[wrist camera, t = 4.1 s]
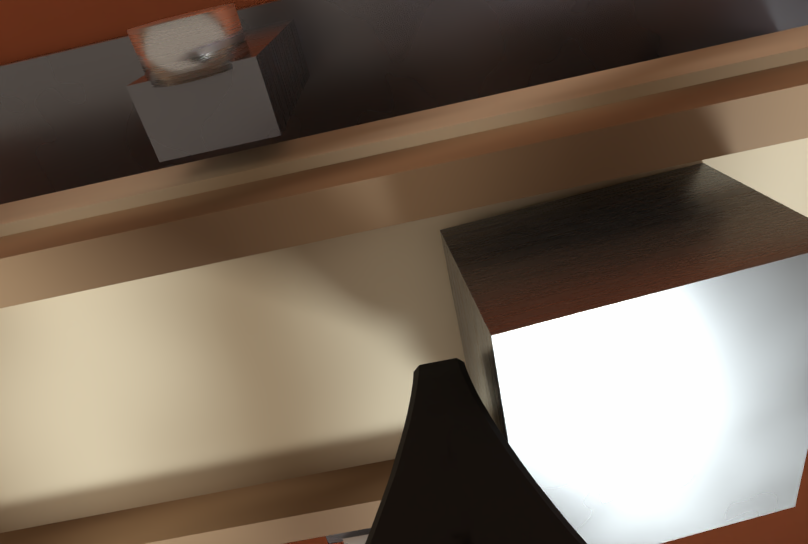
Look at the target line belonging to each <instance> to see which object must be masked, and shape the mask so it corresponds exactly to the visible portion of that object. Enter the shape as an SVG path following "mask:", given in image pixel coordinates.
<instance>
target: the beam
mask: <svg viewBox="0 0 808 544" xmlns="http://www.w3.org/2000/svg"><path fill="white" fill-rule="evenodd" d="M700 163H705V164H706V165H708V166H710V167H712V168H714V169H716V170H718V171H720V172H722V173H724V174H726V175H727V176H729V177H731V178H733V179H735V180H737V181H739V182H741V183H743V184H745V185H747V186H749V187H750V188H752V189H754V190H756V191H758V192H760V193H762V194H764V195H766V196H768V197H770V198H771V199H773V200H775V201H777V202H779V203H781V204H783V205H785V206H787V207H789V208H791V209H792V210H794V211H796V212H798V213H800V214H802V215H804V216H806V217H808V25H806V26H801V27H797V28H792V29H788V30H783V31H779V32H774V33H770V34H765V35H761V36H756V37H752V38H747V39H743V40H738V41H734V42H729V43H725V44H720V45H716V46H711V47H707V48H702V49H698V50H693V51H689V52H684V53H680V54H675V55H671V56H666V57H662V58H657V59H653V60H648V61H644V62H639V63H635V64H630V65H626V66H621V67H617V68H612V69H608V70H603V71H599V72H594V73H590V74H585V75H581V76H576V77H572V78H567V79H563V80H558V81H554V82H549V83H545V84H540V85H536V86H531V87H527V88H522V89H518V90H513V91H509V92H504V93H500V94H495V95H491V96H486V97H482V98H477V99H473V100H468V101H464V102H459V103H455V104H450V105H446V106H441V107H437V108H432V109H428V110H423V111H419V112H414V113H410V114H405V115H401V116H396V117H392V118H387V119H383V120H378V121H374V122H369V123H365V124H360V125H356V126H351V127H347V128H342V129H338V130H333V131H329V132H324V133H320V134H315V135H311V136H306V137H302V138H297V139H293V140H288V141H284V142H279V143H275V144H270V145H266V146H261V147H257V148H252V149H248V150H243V151H239V152H234V153H230V154H225V155H221V156H216V157H212V158H207V159H203V160H198V161H194V162H189V163H185V164H180V165H176V166H171V167H167V168H162V169H158V170H153V171H149V172H144V173H140V174H135V175H131V176H126V177H122V178H117V179H113V180H108V181H104V182H99V183H95V184H90V185H86V186H81V187H77V188H72V189H68V190H63V191H59V192H54V193H50V194H45V195H41V196H36V197H32V198H27V199H23V200H18V201H14V202H9V203H5V204H0V544H284V543H290V542H295V541H301V540H306V539H312V538H317V537H323V536H328V535H334V534H339V533H345V532H351V531H356V530H362V529H367V528H371V527H372V524H373V521H374V519H375V516H376V513H377V510H378V508H379V505H380V502H381V499H382V497H383V494H384V491H385V488H386V486H387V483H388V480H389V477H390V474H391V470H392V467H393V463H394V460H395V457H396V453H397V450H398V446H399V443H400V440H401V436H402V432H403V428H404V424H405V420H406V416H407V412H408V407H409V402H410V397H411V391H412V384H413V372H414V371H415V369H416V368H417V367H418V366H419V365H422V364H427V363H432V362H437V361H442V360H448V359H453V358H458V359H460V360H461V361H463V362H465V357H464V352H463V346H462V341H461V336H460V331H459V326H458V321H457V316H456V310H455V305H454V300H453V295H452V290H451V285H450V280H449V275H448V269H447V264H446V259H445V254H444V249H443V244H442V239H441V233H440V230H442V229H446V228H450V227H454V226H458V225H461V224H465V223H469V222H473V221H477V220H481V219H485V218H489V217H493V216H497V215H500V214H504V213H508V212H512V211H516V210H520V209H524V208H528V207H532V206H536V205H540V204H543V203H547V202H551V201H555V200H559V199H563V198H567V197H571V196H575V195H579V194H583V193H586V192H590V191H594V190H598V189H602V188H606V187H610V186H614V185H618V184H622V183H626V182H629V181H633V180H637V179H641V178H645V177H649V176H653V175H657V174H661V173H665V172H668V171H672V170H676V169H680V168H684V167H688V166H692V165H696V164H700ZM465 366H466V362H465ZM466 369H467V367H466Z"/></svg>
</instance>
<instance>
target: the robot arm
mask: <svg viewBox="0 0 808 544" xmlns="http://www.w3.org/2000/svg"><path fill="white" fill-rule="evenodd" d="M365 544H587V543H586V542H585V541H584V539H583V538H582V537H581V536H580V535H579V534H578V533H577V531H576V530H575V529H574V528H573V527H572V526H571V524H570V523H569V522H568V521H567V520H566V518H565V517H564V516H563V515H562V514H561V512H560V511H559V510H558V509H557V508H556V506H555V505H554V504H553V502H552V501H551V500H550V499H549V497H548V496H547V495H546V494H545V492H544V491H543V490H542V489H541V487H540V486H539V485H538V483H537V482H536V481H535V480H534V478H533V477H532V476H531V474H530V473H529V472H528V470H527V469H526V467H525V466H524V465H523V463H522V462H521V461H520V459H519V458H518V456H517V455H516V453H515V452H514V450H513V449H512V448H511V446H510V445H509V443H508V442H507V440H506V439H505V437H504V436H503V435H502V433H501V432H500V430H499V429H498V427H497V425H496V424H495V422H494V421H493V419H492V418H491V416H490V414H489V412H488V411H487V409H486V407H485V406H484V404H483V402H482V400H481V399H480V397H479V395H478V393H477V391H476V389H475V387H474V385H473V383H472V381H471V379H470V376H469V374H468V371H467V369H466V366H465V362H463V361H461V360H460V359H458V358H453V359H448V360H442V361H437V362H432V363H427V364H422V365H419V366H418V367H417V368H416V369H415V371H414V372H413V384H412V391H411V397H410V402H409V407H408V412H407V416H406V420H405V424H404V428H403V432H402V436H401V440H400V443H399V446H398V450H397V453H396V457H395V460H394V463H393V467H392V470H391V474H390V477H389V480H388V483H387V486H386V488H385V491H384V494H383V497H382V499H381V502H380V505H379V508H378V510H377V513H376V516H375V519H374V521H373V524H372V527H371V530H370V532H369V535H368V537H367V540H366V542H365Z"/></svg>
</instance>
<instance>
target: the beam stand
mask: <svg viewBox="0 0 808 544" xmlns="http://www.w3.org/2000/svg"><path fill="white" fill-rule="evenodd" d="M806 25H808V0H274V1H270V2H266V3H261V4H257V5H253V6H249V7H244V8H240V9H236V7H235V4H234V3H231V4H225V5H219V6H215V7H210V8H206V9H201V10H197V11H193V12H189V13H185V14H181V15H177V16H173V17H169V18H165V19H161V20H158V21H154V22H150V23H147V24H143V25H140V26H137V27H134V28H131V29H128V30H127V33H128V35H126V36H122V37H117V38H113V39H109V40H105V41H100V42H96V43H92V44H88V45H83V46H79V47H75V48H71V49H67V50H62V51H58V52H54V53H50V54H45V55H41V56H37V57H33V58H28V59H24V60H20V61H16V62H11V63H7V64H3V65H0V204H5V203H9V202H14V201H18V200H23V199H27V198H32V197H36V196H41V195H45V194H50V193H54V192H59V191H63V190H68V189H72V188H77V187H81V186H86V185H90V184H95V183H99V182H104V181H108V180H113V179H117V178H122V177H126V176H131V175H135V174H140V173H144V172H149V171H153V170H158V169H162V168H167V167H171V166H176V165H180V164H185V163H189V162H194V161H198V160H203V159H207V158H212V157H216V156H221V155H225V154H230V153H234V152H239V151H243V150H248V149H252V148H257V147H261V146H266V145H270V144H275V143H279V142H284V141H288V140H293V139H297V138H302V137H306V136H311V135H315V134H320V133H324V132H329V131H333V130H338V129H342V128H347V127H351V126H356V125H360V124H365V123H369V122H374V121H378V120H383V119H387V118H392V117H396V116H401V115H405V114H410V113H414V112H419V111H423V110H428V109H432V108H437V107H441V106H446V105H450V104H455V103H459V102H464V101H468V100H473V99H477V98H482V97H486V96H491V95H495V94H500V93H504V92H509V91H513V90H518V89H522V88H527V87H531V86H536V85H540V84H545V83H549V82H554V81H558V80H563V79H567V78H572V77H576V76H581V75H585V74H590V73H594V72H599V71H603V70H608V69H612V68H617V67H621V66H626V65H630V64H635V63H639V62H644V61H648V60H653V59H657V58H662V57H666V56H671V55H675V54H680V53H684V52H689V51H693V50H698V49H702V48H707V47H711V46H716V45H720V44H725V43H729V42H734V41H738V40H743V39H747V38H752V37H756V36H761V35H765V34H770V33H774V32H779V31H783V30H788V29H792V28H797V27H801V26H806ZM370 530H371V528H367V529H362V530H356V531H351V532H345V533H339V534H334V535H328V536H326V539H327V541H328V543H329V544H330V543H336V542H343V544H365V542H366V540H367V537H368V535H369V532H370Z"/></svg>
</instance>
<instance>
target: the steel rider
mask: <svg viewBox="0 0 808 544" xmlns="http://www.w3.org/2000/svg"><path fill="white" fill-rule="evenodd" d="M440 233H441V239H442V244H443V249H444V254H445V259H446V264H447V269H448V275H449V280H450V285H451V290H452V295H453V300H454V305H455V310H456V316H457V321H458V326H459V331H460V336H461V341H462V346H463V352H464V357H465V362H466V367H467V371H468V374H469V376H470V379H471V381H472V383H473V385H474V387H475V389H476V391H477V393H478V395H479V397H480V399H481V400H482V402H483V404H484V406H485V407H486V409H487V411H488V412H489V414H490V416H491V418H492V419H493V421H494V422H495V424H496V425H497V427H498V429H499V430H500V432H501V433H502V435H503V436H504V437H505V439H506V440H507V442H508V443H509V445H510V446H511V448H512V449H513V450H514V452H515V453H516V455H517V456H518V458H519V459H520V461H521V462H522V463H523V465H524V466H525V467H526V469H527V470H528V472H529V473H530V474H531V476H532V477H533V478H534V480H535V481H536V482H537V483H538V485H539V486H540V487H541V489H542V490H543V491H544V492H545V494H546V495H547V496H548V497H549V499H550V500H551V501H552V502H553V504H554V505H555V506H556V508H557V509H558V510H559V511H560V512H561V514H562V515H563V516H564V517H565V518H566V520H567V521H568V522H569V523H570V524H571V526H572V527H573V528H574V529H575V530H576V531H577V533H578V534H579V535H580V536H581V537H582V538H583V539H584V541H585V542H586V543H587V544H661V543H665V542H668V541H672V540H676V539H679V538H683V537H686V536H690V535H694V534H697V533H701V532H705V531H708V530H712V529H716V528H719V527H723V526H727V525H730V524H734V523H737V522H741V521H745V520H748V519H752V518H756V517H759V516H763V515H767V514H770V513H774V512H777V511H781V510H785V509H788V508H792V507H795V505H796V500H797V495H798V491H799V486H800V482H801V477H802V472H803V468H804V463H805V459H806V454H807V450H808V217H806V216H804V215H802V214H800V213H798V212H796V211H794V210H792V209H791V208H789V207H787V206H785V205H783V204H781V203H779V202H777V201H775V200H773V199H771V198H770V197H768V196H766V195H764V194H762V193H760V192H758V191H756V190H754V189H752V188H750V187H749V186H747V185H745V184H743V183H741V182H739V181H737V180H735V179H733V178H731V177H729V176H727V175H726V174H724V173H722V172H720V171H718V170H716V169H714V168H712V167H710V166H708V165H706V164H705V163H700V164H696V165H692V166H688V167H684V168H680V169H676V170H672V171H668V172H665V173H661V174H657V175H653V176H649V177H645V178H641V179H637V180H633V181H629V182H626V183H622V184H618V185H614V186H610V187H606V188H602V189H598V190H594V191H590V192H586V193H583V194H579V195H575V196H571V197H567V198H563V199H559V200H555V201H551V202H547V203H543V204H540V205H536V206H532V207H528V208H524V209H520V210H516V211H512V212H508V213H504V214H500V215H497V216H493V217H489V218H485V219H481V220H477V221H473V222H469V223H465V224H461V225H458V226H454V227H450V228H446V229H442V230H440Z"/></svg>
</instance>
